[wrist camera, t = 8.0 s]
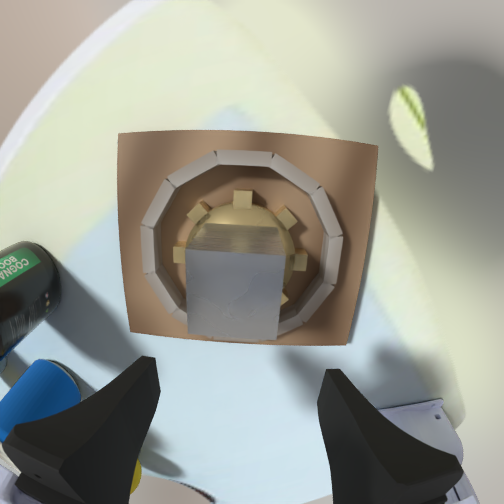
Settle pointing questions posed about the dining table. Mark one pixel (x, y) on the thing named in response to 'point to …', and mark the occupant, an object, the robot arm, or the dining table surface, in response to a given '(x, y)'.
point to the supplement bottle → (25, 292)
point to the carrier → (264, 193)
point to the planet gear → (238, 267)
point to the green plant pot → (3, 364)
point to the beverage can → (36, 398)
